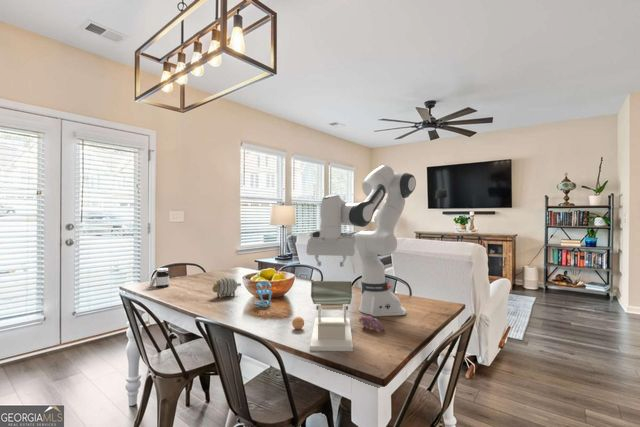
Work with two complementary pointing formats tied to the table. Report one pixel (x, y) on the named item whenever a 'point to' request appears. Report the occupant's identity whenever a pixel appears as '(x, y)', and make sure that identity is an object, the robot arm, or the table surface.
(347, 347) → the white stand
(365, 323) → the purple grapes
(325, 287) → the green open box
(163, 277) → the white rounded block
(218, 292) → the toy sheep
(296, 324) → the ball
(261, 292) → the light blue lumpy piece
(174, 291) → the table surface
